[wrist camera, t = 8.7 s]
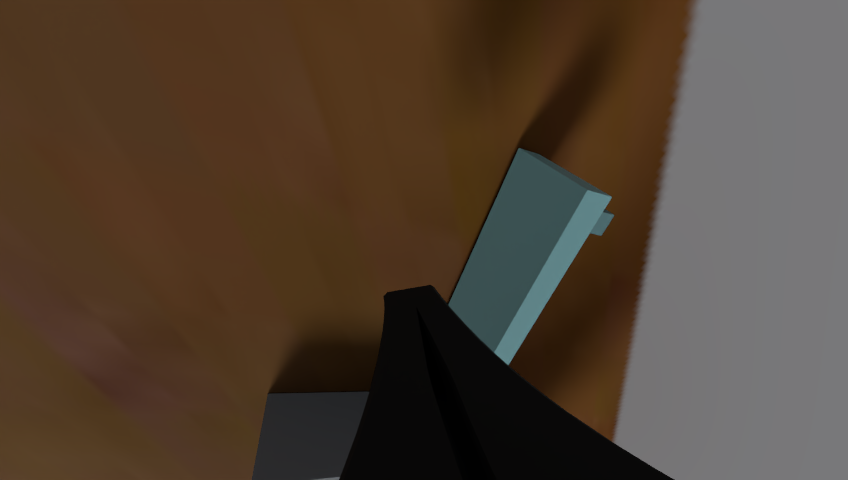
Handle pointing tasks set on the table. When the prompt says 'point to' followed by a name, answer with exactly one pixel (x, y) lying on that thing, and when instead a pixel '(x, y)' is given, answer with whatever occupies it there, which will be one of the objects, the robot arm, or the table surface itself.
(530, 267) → the side door
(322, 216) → the table surface
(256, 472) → the camera case
